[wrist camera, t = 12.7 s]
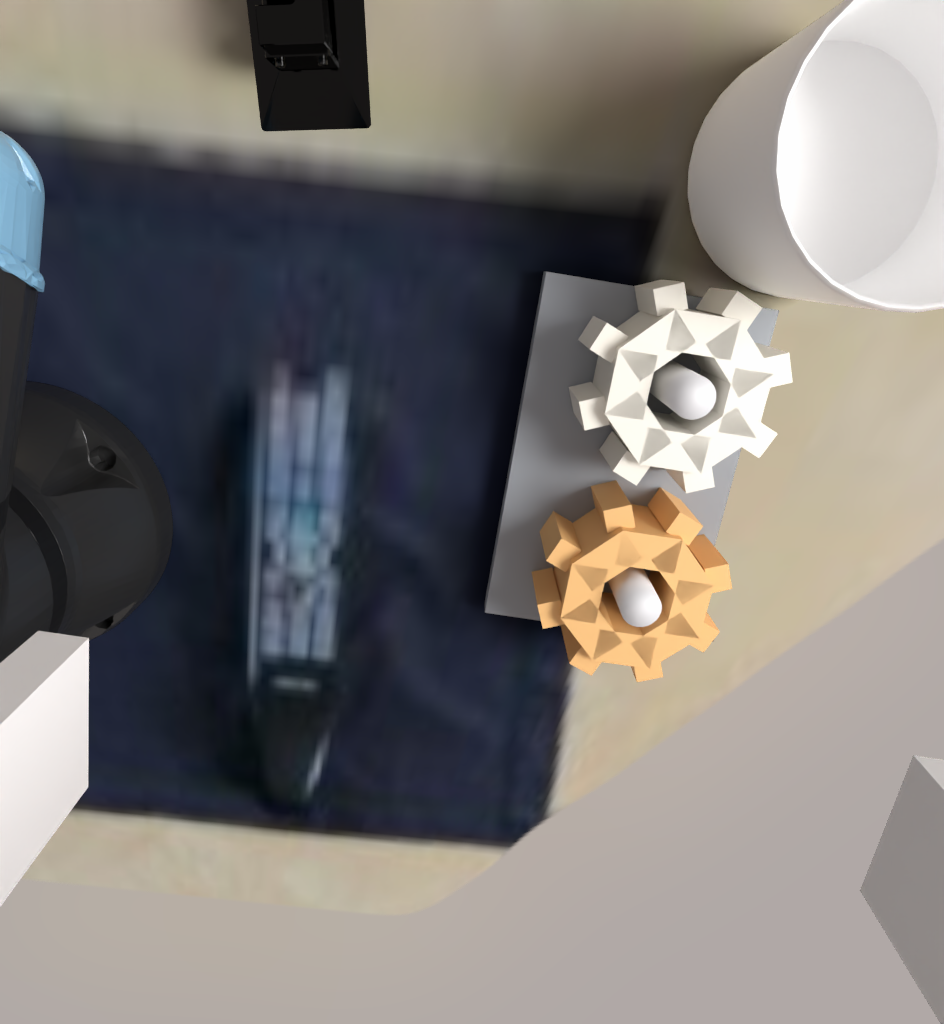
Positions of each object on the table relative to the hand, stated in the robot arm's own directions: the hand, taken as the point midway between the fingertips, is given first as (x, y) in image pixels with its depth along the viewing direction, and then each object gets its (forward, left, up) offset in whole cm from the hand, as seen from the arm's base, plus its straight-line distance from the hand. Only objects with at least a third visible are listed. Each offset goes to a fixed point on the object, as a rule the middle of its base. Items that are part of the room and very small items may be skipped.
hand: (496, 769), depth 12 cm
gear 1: (+9, +3, -30) cm, 32 cm away
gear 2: (+9, -7, -30) cm, 32 cm away
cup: (+14, +14, -32) cm, 38 cm away
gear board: (+8, -2, -32) cm, 33 cm away
